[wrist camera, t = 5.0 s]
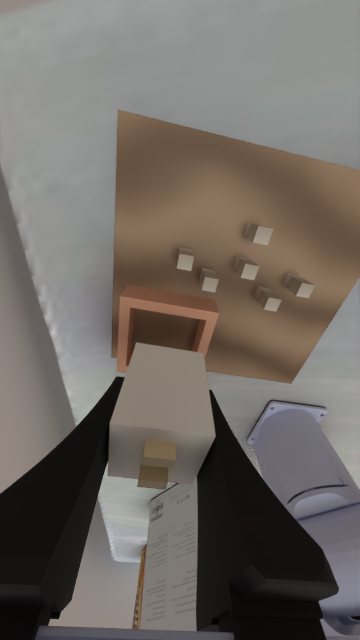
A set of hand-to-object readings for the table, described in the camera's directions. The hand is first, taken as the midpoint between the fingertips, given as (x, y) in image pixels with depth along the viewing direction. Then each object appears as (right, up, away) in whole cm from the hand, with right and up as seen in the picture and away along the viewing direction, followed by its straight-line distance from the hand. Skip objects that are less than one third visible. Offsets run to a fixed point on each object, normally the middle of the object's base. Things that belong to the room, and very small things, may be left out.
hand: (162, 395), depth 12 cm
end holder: (0, +3, +8) cm, 9 cm away
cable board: (+5, +8, +7) cm, 12 cm away
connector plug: (0, +1, +1) cm, 2 cm away
